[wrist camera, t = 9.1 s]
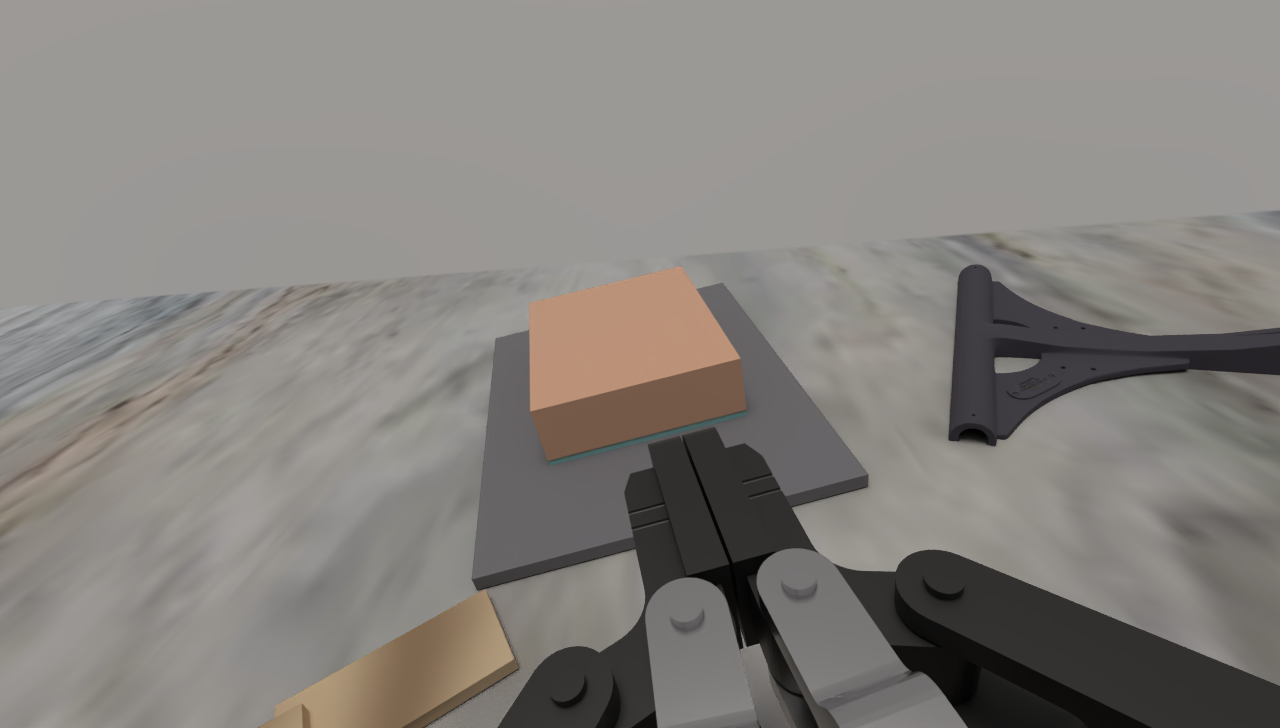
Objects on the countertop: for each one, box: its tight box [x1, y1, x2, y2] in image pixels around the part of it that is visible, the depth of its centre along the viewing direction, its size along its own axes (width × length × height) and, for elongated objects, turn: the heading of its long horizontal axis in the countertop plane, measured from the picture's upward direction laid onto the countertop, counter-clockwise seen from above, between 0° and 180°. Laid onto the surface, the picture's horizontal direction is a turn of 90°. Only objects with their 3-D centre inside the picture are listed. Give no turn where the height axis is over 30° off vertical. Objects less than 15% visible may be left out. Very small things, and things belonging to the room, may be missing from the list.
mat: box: [472, 283, 868, 590], centre depth 30 cm, size 15×19×1 cm
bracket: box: [949, 265, 1280, 446], centre depth 25 cm, size 14×15×3 cm
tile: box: [529, 266, 747, 466], centre depth 30 cm, size 9×3×11 cm
